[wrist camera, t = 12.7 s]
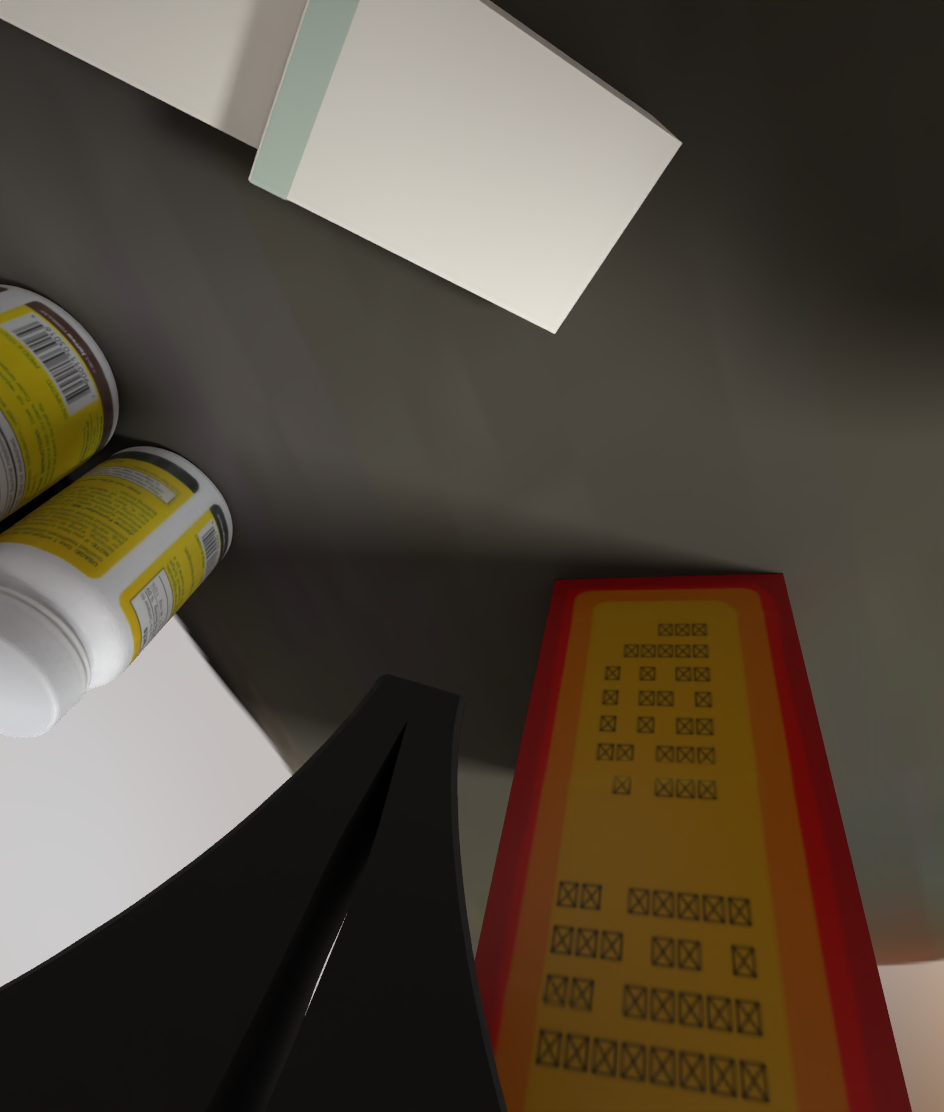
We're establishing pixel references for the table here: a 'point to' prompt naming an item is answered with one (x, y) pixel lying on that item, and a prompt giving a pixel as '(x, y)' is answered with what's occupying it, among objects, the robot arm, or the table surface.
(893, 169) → the table surface
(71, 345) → the supplement bottle
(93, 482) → the supplement bottle
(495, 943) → the baking soda box
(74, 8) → the domino
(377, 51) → the domino head
